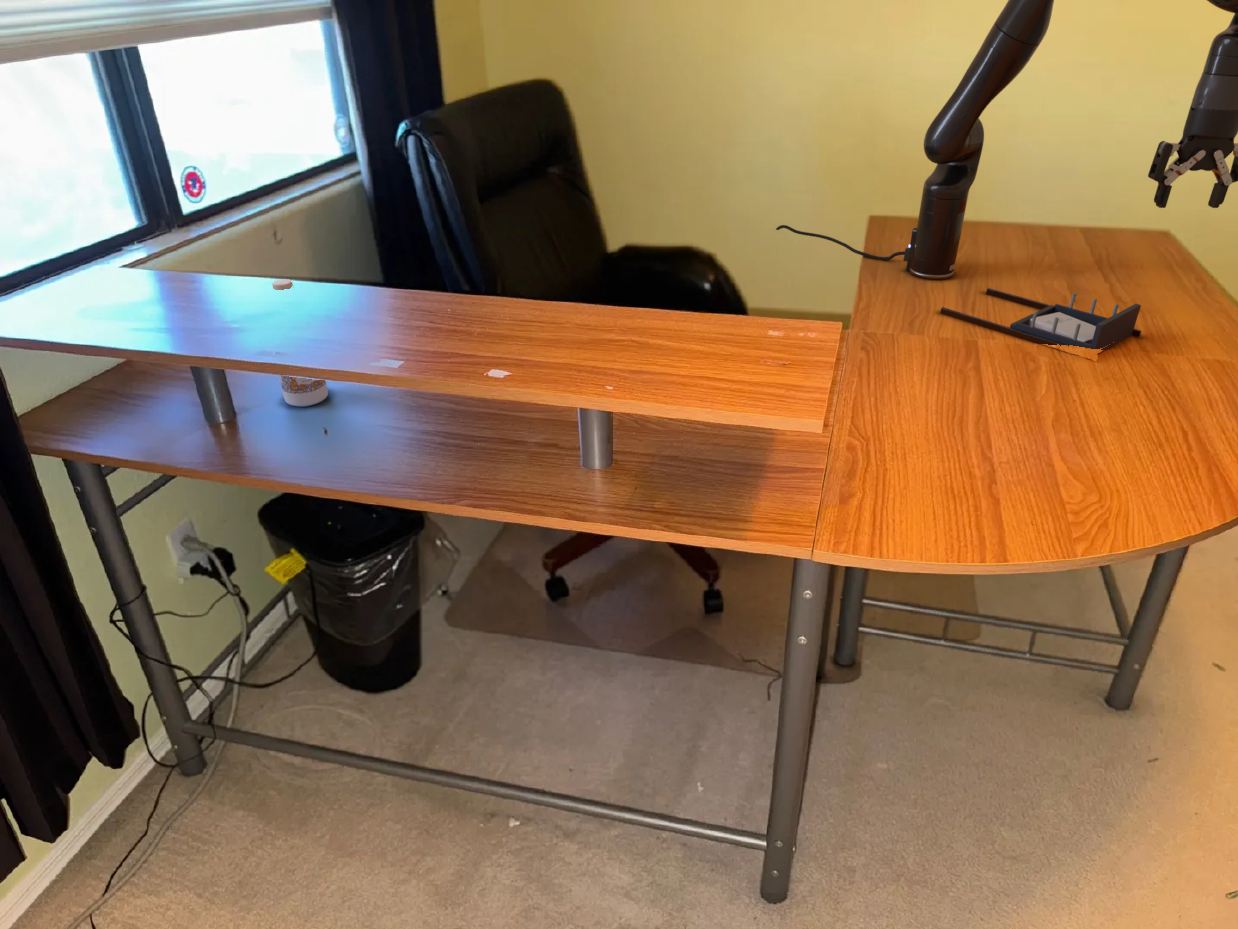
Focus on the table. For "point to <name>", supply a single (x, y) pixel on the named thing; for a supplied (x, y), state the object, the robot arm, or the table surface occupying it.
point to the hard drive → (1065, 326)
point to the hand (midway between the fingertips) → (1186, 206)
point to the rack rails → (1006, 329)
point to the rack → (1105, 330)
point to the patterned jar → (300, 388)
